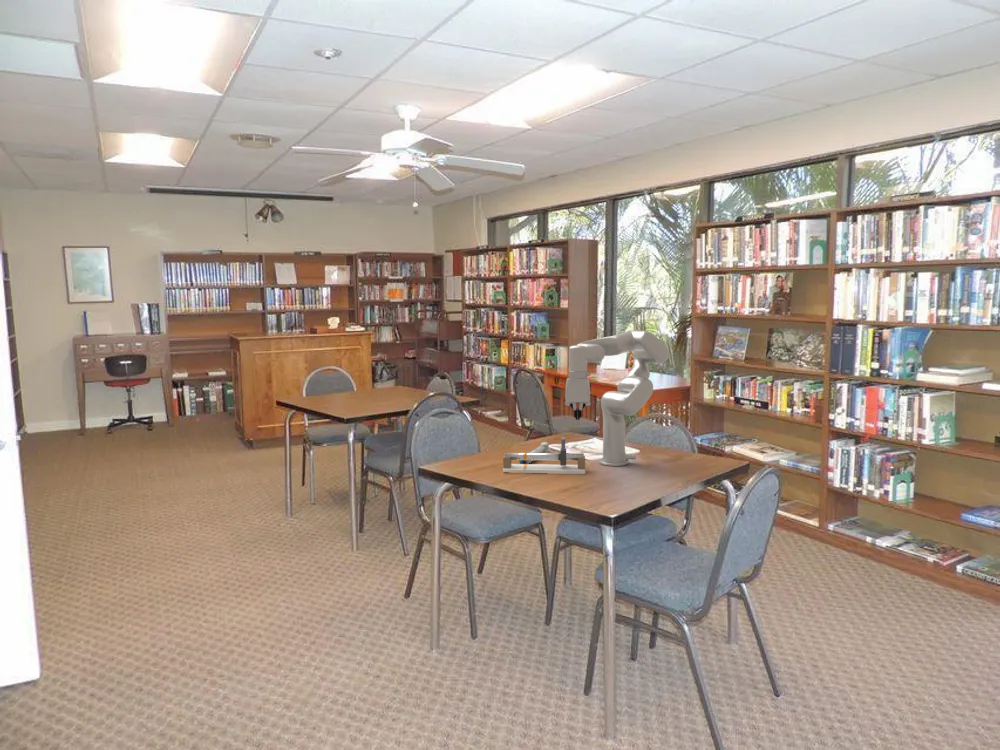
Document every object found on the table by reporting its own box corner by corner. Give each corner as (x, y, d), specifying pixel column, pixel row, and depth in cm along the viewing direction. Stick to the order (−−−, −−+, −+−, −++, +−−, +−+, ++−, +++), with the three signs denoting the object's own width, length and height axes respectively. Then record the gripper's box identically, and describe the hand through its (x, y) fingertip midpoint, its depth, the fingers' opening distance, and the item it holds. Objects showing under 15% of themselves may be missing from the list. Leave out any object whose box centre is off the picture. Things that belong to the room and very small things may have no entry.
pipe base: (584, 468, 298) (584, 454, 298) (585, 474, 288) (585, 459, 288) (504, 467, 301) (504, 453, 301) (502, 473, 291) (502, 459, 291)
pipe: (583, 459, 294) (583, 452, 294) (583, 461, 291) (583, 454, 291) (505, 459, 297) (505, 451, 297) (504, 460, 294) (504, 453, 294)
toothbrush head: (517, 456, 305) (541, 438, 326) (518, 471, 306) (542, 452, 328) (528, 458, 302) (552, 439, 324) (529, 472, 304) (552, 453, 325)
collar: (566, 462, 297) (566, 436, 295) (566, 465, 291) (566, 439, 289) (560, 462, 297) (560, 436, 296) (560, 465, 291) (560, 439, 290)
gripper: (595, 374, 292) (595, 417, 294) (559, 374, 293) (559, 417, 295) (596, 376, 285) (596, 421, 287) (559, 376, 286) (559, 420, 288)
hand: (577, 419), depth 291 cm, fingers closed
